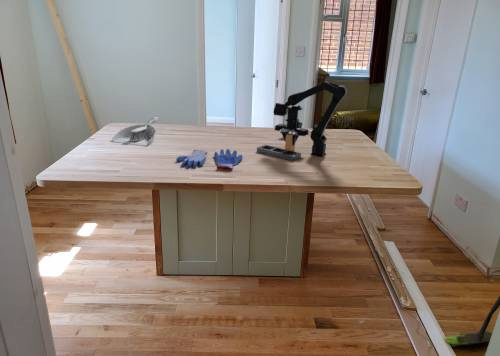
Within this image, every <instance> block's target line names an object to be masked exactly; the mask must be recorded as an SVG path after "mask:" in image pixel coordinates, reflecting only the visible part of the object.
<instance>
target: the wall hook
mask: <svg viewBox="0 0 500 356" xmlns="http://www.w3.org/2000/svg"><path fill="white" fill-rule="evenodd" d="M282 124H284V125H286V126H287V121H283V122H282ZM289 133H291V134H295V132H291V131H290V132H289ZM282 139H284V137H283V136H282Z"/></svg>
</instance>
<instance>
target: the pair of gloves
mask: <svg viewBox="0 0 500 356" xmlns="http://www.w3.org/2000/svg"><path fill="white" fill-rule="evenodd" d="M219 150H220V151H219V153H220V154H219V153H218V152H217V151H214V160H215V163H216V165H217V166H216V169H217V170H220V171H228V172H229V171H230V170H231V171H233V169H234V168H233V167H234V166H237V164H238V163H241V161H242V160H243V157H244V156H243V154H239V155H238V156H237V154H238V151H237V150H233V151H232V153H231V150H230V149H229V148H227V149H226V151H225V150H224V149H219ZM207 154H208V151H207V150H197V149H194V150H193V151H192V153H191V154H189V155H179V156H178V157H176V163H181V168H185V167H186V169H188V170H189V169H191V168H192V169H197V167H198V165H199V168H203V166H204V164H205V162H206V159H207V158H206V155H207Z"/></svg>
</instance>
